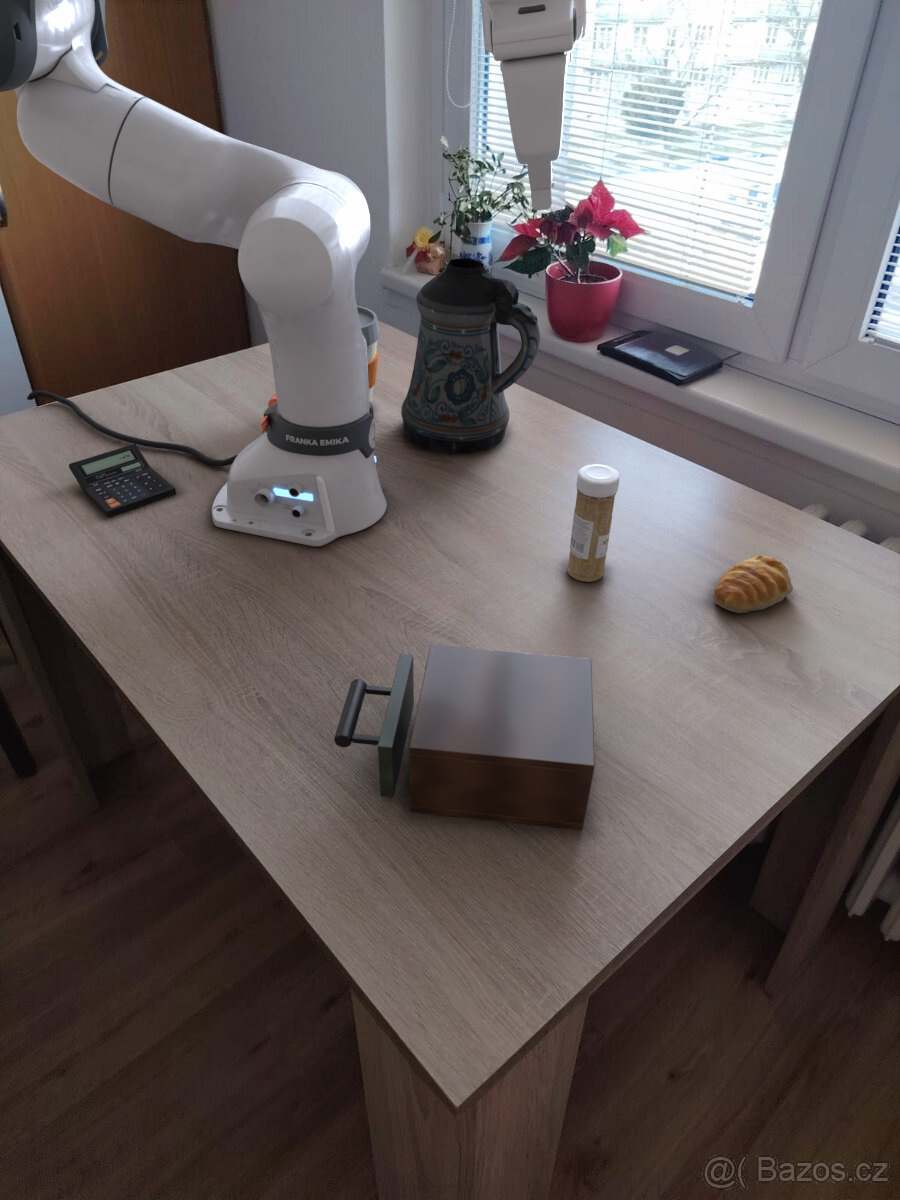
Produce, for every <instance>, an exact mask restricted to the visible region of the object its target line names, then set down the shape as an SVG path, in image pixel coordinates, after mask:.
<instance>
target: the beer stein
mask: <svg viewBox="0 0 900 1200" xmlns="http://www.w3.org/2000/svg"><path fill="white" fill-rule="evenodd" d="M519 295H520V293H519V291H518V289H517V286H516V285H515V283H514V282H512V281H510V280H507V279H502V278H498V277H495V276H494V275H493V274H491V273H490V272H489V271H488V269H487V268H486V265H485V264H484V263H483V262H481V261H480V260H479V261H478V260H477V259H470V258H454V259H450V260H449V261H448V262H447V264H446V267H445V268H444V269H443V270H442V271H440V272H439V273H437V275H435V276H434V277H433V278H431V279H429V281H427V282H426V283H425V284H424V285H423V286H422V287H421V288H420V290H419V291H418V292H417V294H416V297H415V300H416V306H417V311H418V313H419V314H420V322H419V330H418V333H417V334H418V335H417V343H416V350H415V358H414V362H413V368H412V374H411V378H410V383H409V387H408V391H407V393H406V396H405V398H404V400H403V402H402V405H401V411H400V414H401V419H402V422H403V425H402V431H403V432H404V434H405V436H406V437H407V438H408V440H409V441H410V443H412V444H414V445H416V446H417V447H420V448H421V449H423V450H425V451H429V452H434V453H440V454H445V455H470V454H474V453H475V454H476V453H480V452H485V451H488V450H490V449H491V448H493V447H495V446H497V445H498V444H500V443H501V442H502V440H503V439H504V438H505V436H506V430H507V428H508V426H509V425H508V424H509V421H510V408H509V406H508V405H509V404H508V403H507V400H506V395H505V390H507V389H508V388H510V387H511V386H513V384H515V383H516V382H518V380H519V379H520V378H521V377H522V376H524V374H525V373H526V372H527V371H528V369H530V367H531V366H532V364H533V362H534V361H535V359H536V357H537V354H538V351H539V348H540V343H541V329H540V326H539V323H538V322H539V321H538V316H537V315H536V314H535V313H534V312H533V311H532V308H530V307H529V306H528V305H526V304H525V303H521V302H519ZM499 325H501V326H502V325H503V326H511V327H513V328H514V329H516V330H517V331H518V333H519V336H520V341H521V346H520V347H521V348H520V350H519V351H518V353H517V355H516V357H515V358H514V360H513V361H512V362H511V363H510V364H509V365H508V366H507V367H506V368H505V369H504V370H503V371H502V364H501V363H502V362H501V361H502V360H501V349H500V348H501V347H500V335H499Z"/></svg>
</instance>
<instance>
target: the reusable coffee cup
mask: <svg viewBox="0 0 900 1200" xmlns="http://www.w3.org/2000/svg"><path fill="white" fill-rule="evenodd" d="M357 310H358V315H359V320H360V325H361V330H362V334H363V336H364V338H365V340H366V343H367V360H368V382H369V401H370V402H371V403H372V401H373V392H374V391H373V390H374V386H375V385H376V383H377V375H378V364H379V352H378V349H377V347H378V340H379V338H380V330H379V321H378V316H377V314H376V313H375V312H374V310H372V309H369V308H367V307H364V306H360V305H357Z"/></svg>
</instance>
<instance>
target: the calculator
mask: <svg viewBox="0 0 900 1200" xmlns="http://www.w3.org/2000/svg"><path fill="white" fill-rule="evenodd" d="M68 468H69V470H70V472H71V473H72V475H73V476H74V478H75V480H76V481H77V483H78V484H79V486H80V488H81V489H82V491H83V492H84V495H85V496H87V497H88V498H89V500H91V501H92V503H94V505H95V506H97V507H98V509H100V510H101V511H102V513H104V514H105V515H106V516H107V517H108V518H111V517H114V516H117V515H119V514H122V513H125V512H128V511H131V510H134V509H137V508H139V507H143V506H146V505H149V504H151V503H154V502H157V501H160V500H163V499H165V498H168V497H171V496H174V495H176V494H177V490H176V487H174V486H173V485H172V484H171V483H170V482H168V481H167V480H166V479H165V478H164V477H163V476H161V475H160V474H159V473H158V472H157V471H156V470H155V469H153V468H152V467H151V465H150V464H149V463H148V461H147V459H146V458H145V456H144V455H143V453H142V452H141V450H140V449H139V447H138V444H134V443H131V444H129V445H126V446H122V447H120V448H116V449H113V450H109V451H107V452H106V451H105V452H103V453H100V454H97V455H94V456H90V457H87V458H84V459H81V460H77V461H75V462H71V463H68Z"/></svg>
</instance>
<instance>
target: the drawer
mask: <svg viewBox="0 0 900 1200" xmlns="http://www.w3.org/2000/svg"><path fill="white" fill-rule="evenodd" d="M426 664H427V662H426V663H425V665H426ZM424 667H425V668H424V670H425V669H426V666H424ZM414 679H415V678H414V654H411V653H409V654H408V653H399V658H398V661H397V666H396V670H395V674H394V678H393V683H392V686H391V687H390V686H381V685H371V684H367V683H366V681H364V680H362V679H358V678H357V679H353V680H352V681H351V682H350V685H349V687H348V692H347V695H346V698H345V702H344V705H343V709H342V712H341V715H340V719H339V722H338V724H337V728H336V732H335V734H334V737H333V739H334V740H333V742H334V743H335V744H336V745H337V746H338V747H341V748H348V747H350V746H351V745H352V744H360V745H370V746H377V761H378V781H379V795H380V797H383V798H392V799H393V798H395V794H396V791H397V785H398V780H399V776H400V772H401V766H402V762H403V757H404V753H405V747H406V743H407V738H408V733H409V728H410V723H411V719H412V714H413V710H414V705H415V695H414V694H415V692H414V691H415V689H414V687H415V686H414V681H415V680H414ZM366 695H373V696H374V695H375V696H383V697H384V696H385V697H389V698H388V702H387V707H386V709H385V714H384V719H383V722H382V727H381V731H380V735H372V734H364V733H363V734H361V733H355V732H356V728H357V725H358V721H359V717H360V714H361V710H362V706H363V704H364V699H365V696H366ZM410 742H411V739H410V741H409V743H410Z"/></svg>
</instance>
